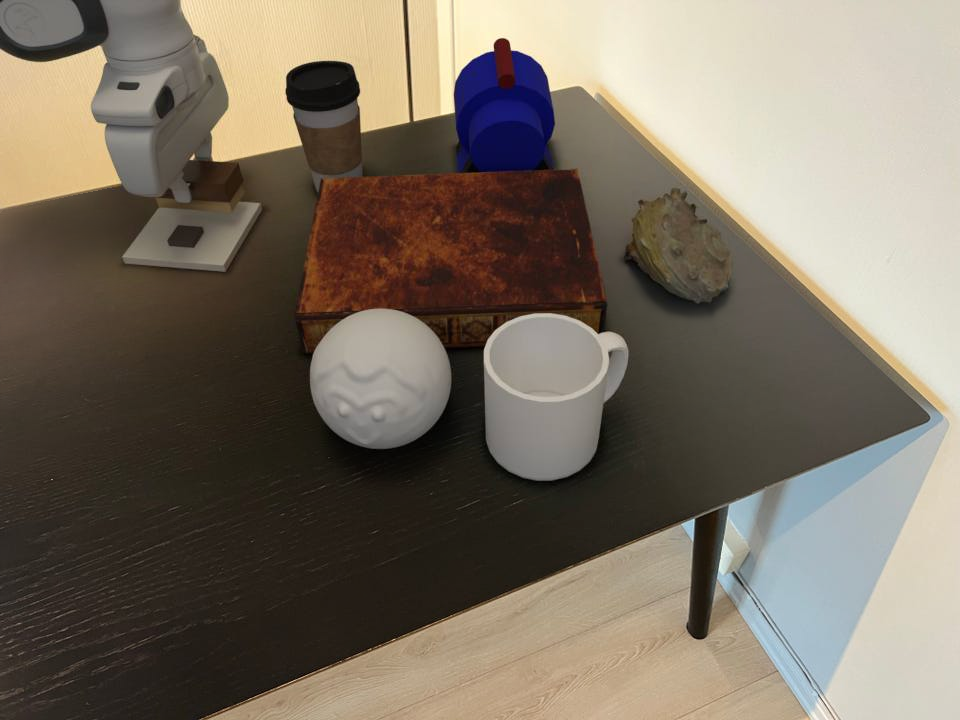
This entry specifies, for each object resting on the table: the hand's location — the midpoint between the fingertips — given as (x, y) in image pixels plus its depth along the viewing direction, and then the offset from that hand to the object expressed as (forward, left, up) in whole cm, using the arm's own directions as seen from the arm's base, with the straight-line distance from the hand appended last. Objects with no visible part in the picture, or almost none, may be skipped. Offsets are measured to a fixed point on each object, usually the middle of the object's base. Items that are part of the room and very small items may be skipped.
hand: (196, 185), depth 91 cm
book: (+31, -6, -5) cm, 32 cm away
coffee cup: (+14, +9, -5) cm, 17 cm away
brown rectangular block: (0, 0, -2) cm, 2 cm away
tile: (0, -3, -5) cm, 6 cm away
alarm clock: (+34, +16, -5) cm, 38 cm away
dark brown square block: (0, -5, -4) cm, 6 cm away
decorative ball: (+29, -28, -5) cm, 40 cm away
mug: (+44, -27, -5) cm, 52 cm away
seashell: (+55, -3, -5) cm, 55 cm away
